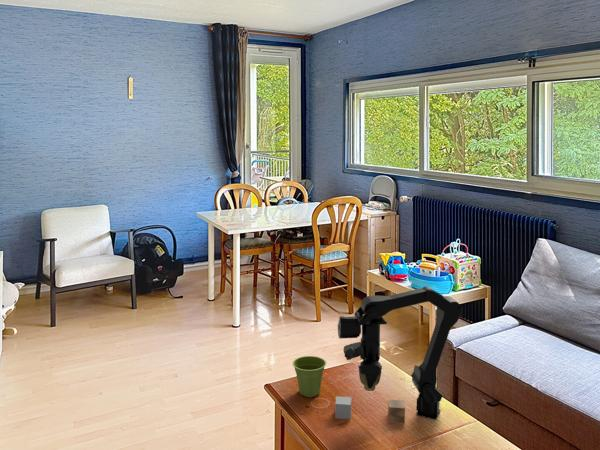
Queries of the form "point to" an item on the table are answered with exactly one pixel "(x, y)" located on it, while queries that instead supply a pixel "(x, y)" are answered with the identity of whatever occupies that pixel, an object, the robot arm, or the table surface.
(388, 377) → the table surface
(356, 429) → the table surface
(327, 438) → the table surface
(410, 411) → the table surface
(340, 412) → the slate grey block
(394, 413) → the walnut block
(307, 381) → the plant pot
